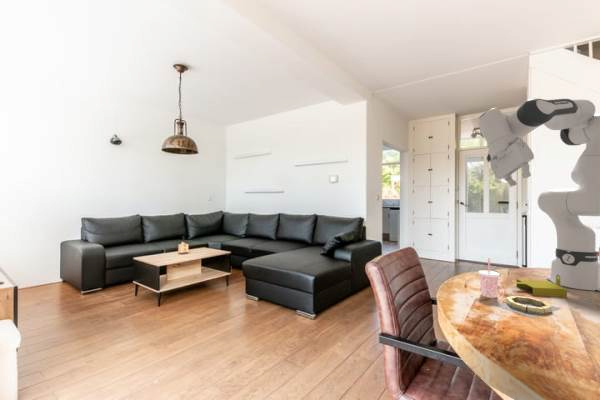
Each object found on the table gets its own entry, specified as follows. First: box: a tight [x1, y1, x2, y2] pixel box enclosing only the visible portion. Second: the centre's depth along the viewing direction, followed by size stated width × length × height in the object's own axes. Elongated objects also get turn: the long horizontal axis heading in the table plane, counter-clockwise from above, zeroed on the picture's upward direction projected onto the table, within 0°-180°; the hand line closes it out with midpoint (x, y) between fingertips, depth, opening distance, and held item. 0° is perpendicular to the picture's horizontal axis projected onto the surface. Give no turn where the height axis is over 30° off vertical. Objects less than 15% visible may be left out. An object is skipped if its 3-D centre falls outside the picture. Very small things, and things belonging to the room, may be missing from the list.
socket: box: [505, 295, 553, 315], centre depth 89 cm, size 10×10×2 cm
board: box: [496, 302, 562, 319], centre depth 89 cm, size 16×10×1 cm, turn 115°
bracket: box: [511, 275, 568, 300], centre depth 104 cm, size 16×8×15 cm
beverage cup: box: [478, 257, 500, 299], centre depth 100 cm, size 6×6×14 cm
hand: (520, 181), depth 102 cm, fingers open, 8 cm apart
